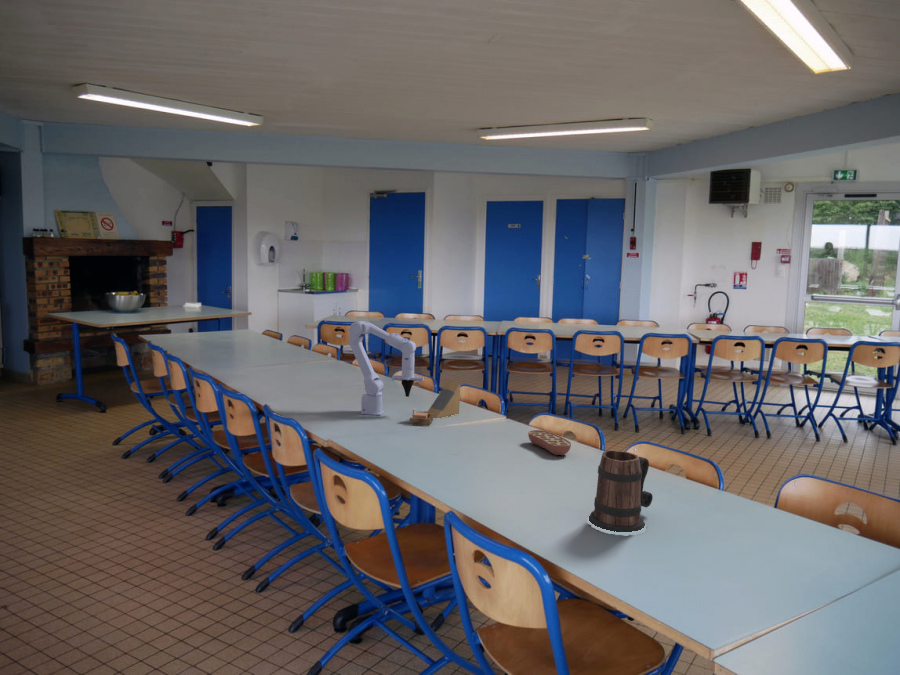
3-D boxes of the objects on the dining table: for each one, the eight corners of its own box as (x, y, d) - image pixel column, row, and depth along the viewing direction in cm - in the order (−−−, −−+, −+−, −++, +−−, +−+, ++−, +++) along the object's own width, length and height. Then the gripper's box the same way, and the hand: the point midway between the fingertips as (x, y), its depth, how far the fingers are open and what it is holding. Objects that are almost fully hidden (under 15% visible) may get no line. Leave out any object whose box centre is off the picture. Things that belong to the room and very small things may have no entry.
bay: (409, 424, 283) (409, 418, 283) (413, 419, 293) (413, 412, 293) (429, 425, 282) (430, 419, 282) (433, 420, 292) (433, 413, 292)
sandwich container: (423, 416, 300) (424, 384, 299) (446, 411, 311) (447, 380, 309) (436, 419, 294) (437, 387, 293) (459, 414, 305) (460, 383, 303)
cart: (412, 424, 285) (412, 409, 285) (414, 420, 291) (414, 406, 291) (425, 424, 285) (425, 410, 284) (427, 421, 291) (427, 407, 290)
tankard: (622, 541, 171) (626, 468, 169) (573, 520, 184) (577, 452, 182) (673, 521, 185) (678, 454, 183) (625, 503, 199) (629, 440, 196)
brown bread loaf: (523, 443, 261) (524, 431, 261) (544, 441, 265) (544, 429, 265) (554, 459, 240) (555, 446, 240) (576, 457, 244) (577, 444, 244)
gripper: (390, 367, 293) (390, 397, 294) (422, 369, 291) (421, 398, 293) (394, 365, 300) (393, 394, 301) (424, 366, 298) (424, 395, 300)
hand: (407, 396), depth 298 cm, fingers closed
